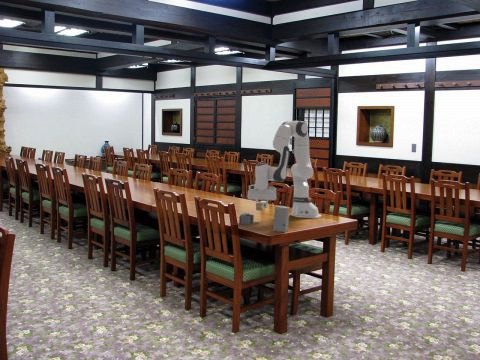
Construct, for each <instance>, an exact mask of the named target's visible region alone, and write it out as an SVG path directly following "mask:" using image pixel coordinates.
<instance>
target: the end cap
mask: <svg viewBox="0 0 480 360" xmlns="http://www.w3.org/2000/svg"><path fill="white" fill-rule="evenodd" d="M254 220H255V214H251V213H250V212H244V213H241V214H240V215H239V220H238V221H239V225H251V223H252V224H253V223H255V221H254Z"/></svg>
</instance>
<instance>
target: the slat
mask: <svg viewBox="0 0 480 360" xmlns="http://www.w3.org/2000/svg"><path fill="white" fill-rule="evenodd" d="M265 203H266V200H260V201H258V203H256V204H255V210H256V211H258V212H259V211H260V212H261V211H264V210H265V209H267V208H268V203H269V202H268V203H267V206H264V204H265Z"/></svg>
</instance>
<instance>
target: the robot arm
mask: <svg viewBox="0 0 480 360" xmlns="http://www.w3.org/2000/svg"><path fill="white" fill-rule="evenodd" d="M308 131H309V125H308V124H307V122H306V121H302V120H291V121H287V120H286V121H284V122H282V123H281V125H280V126H278V128H277V130H276V132H275V134H274V137H273V140H272V148H274V150H275V151H276V152H278V153H280V158H279V159H280V160H279V165H278V166H271V165H270V164H268V163H267V162H259V163H257V164H256V165H255V171H254V172H255V173H254V177H255V183H254V184H251V185H249V186H248V190H247V199H248V200H254V201H255V203H256V204H257V203H259V200H260V201H266V203H265V204H264V206H267V203H269V201H276V200H277V188H276V187H275V186H269V181H270V182H277V183H282V182H284V181H285V180H286V178H287V176H288V175H287V174H288V173H287V172H288V165H289V160H290V159H289V158H290V155H291V154H290V153H291V152H290V151H291V150H290V146H289V144H290V140H291V137H293V138H294V140H293V141H294V143H293V144H294V146H293V149H294V150H293V151H294V152H293V153H294V158H295V162H296V163H294V164H293V165H292V166H291V169H290V172H291V175H292V181H293V197H292V208H291V209H292V210H291V212H290V215H291V216H292V217H295V218H302V219H303V218H307V219H319V218H322V214H321V213H319V208H318V207H317V206H316V205H315V204H314V203H313V202H312V197H310V196H309V193H310V192H309V191H310V186H309V183H308V180H309V179H311V178H312V177H313V176H314V169H313V167H312V163H311V156H310V139H309V138H310V137H309V133H308Z"/></svg>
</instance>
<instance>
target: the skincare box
mask: <svg viewBox="0 0 480 360" xmlns="http://www.w3.org/2000/svg"><path fill="white" fill-rule="evenodd" d="M273 212H274V213H273V214H274V215H273V225H272V226H273V227H272V231H273V232H277V233H279V232H280V233H286V232H288V231H289V221H290V206H284V205H275V206H274V211H273Z"/></svg>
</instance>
